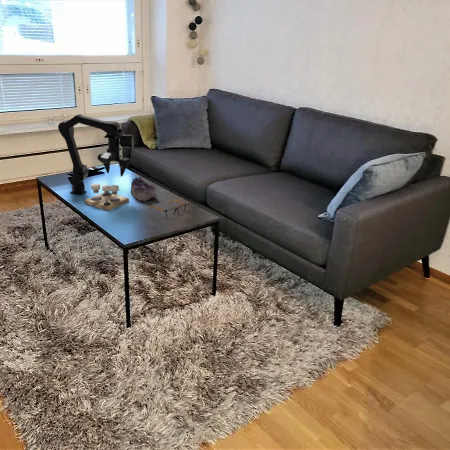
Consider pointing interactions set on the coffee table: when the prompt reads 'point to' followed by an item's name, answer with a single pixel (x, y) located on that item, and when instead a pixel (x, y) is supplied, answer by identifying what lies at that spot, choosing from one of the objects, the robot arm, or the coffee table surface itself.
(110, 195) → the panel
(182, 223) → the coffee table surface
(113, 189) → the knob
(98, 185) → the knob
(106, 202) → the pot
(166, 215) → the eyeglasses
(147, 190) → the geode
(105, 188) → the knob
